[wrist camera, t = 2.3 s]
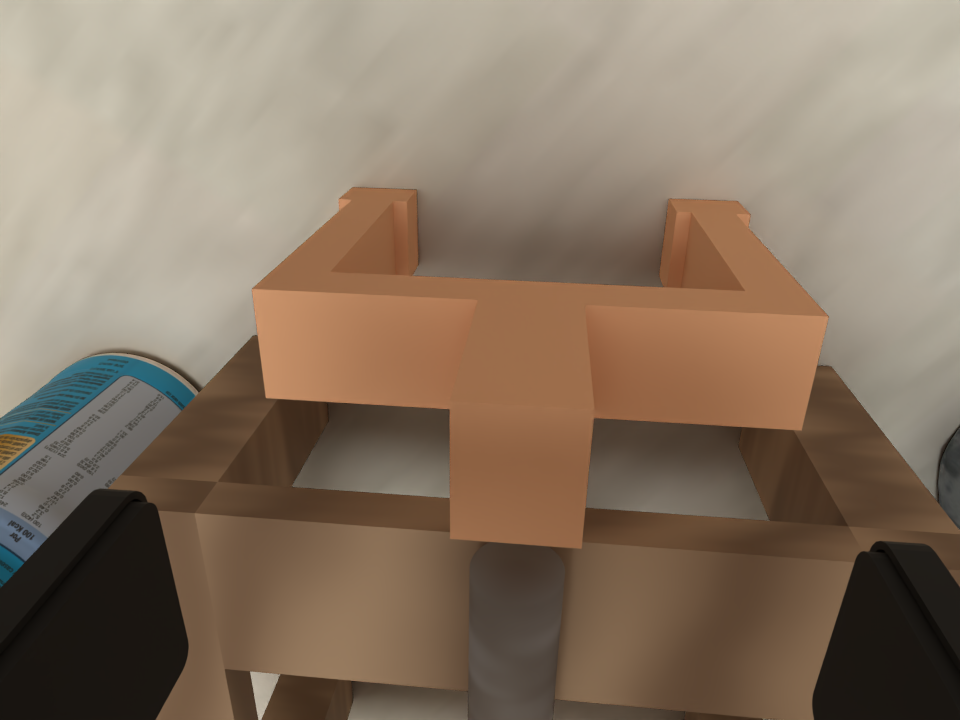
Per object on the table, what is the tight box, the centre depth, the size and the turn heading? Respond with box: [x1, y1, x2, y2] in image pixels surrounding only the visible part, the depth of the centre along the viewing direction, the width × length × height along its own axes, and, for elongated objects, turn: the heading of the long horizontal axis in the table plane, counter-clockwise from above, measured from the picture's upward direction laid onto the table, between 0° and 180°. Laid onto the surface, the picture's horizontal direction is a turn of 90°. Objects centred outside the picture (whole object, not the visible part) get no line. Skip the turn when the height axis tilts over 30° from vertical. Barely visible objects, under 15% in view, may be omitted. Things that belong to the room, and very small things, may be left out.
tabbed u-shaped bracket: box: [252, 187, 829, 549], centre depth 21 cm, size 14×3×16 cm, turn 89°
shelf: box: [108, 336, 960, 720], centre depth 28 cm, size 24×22×14 cm
